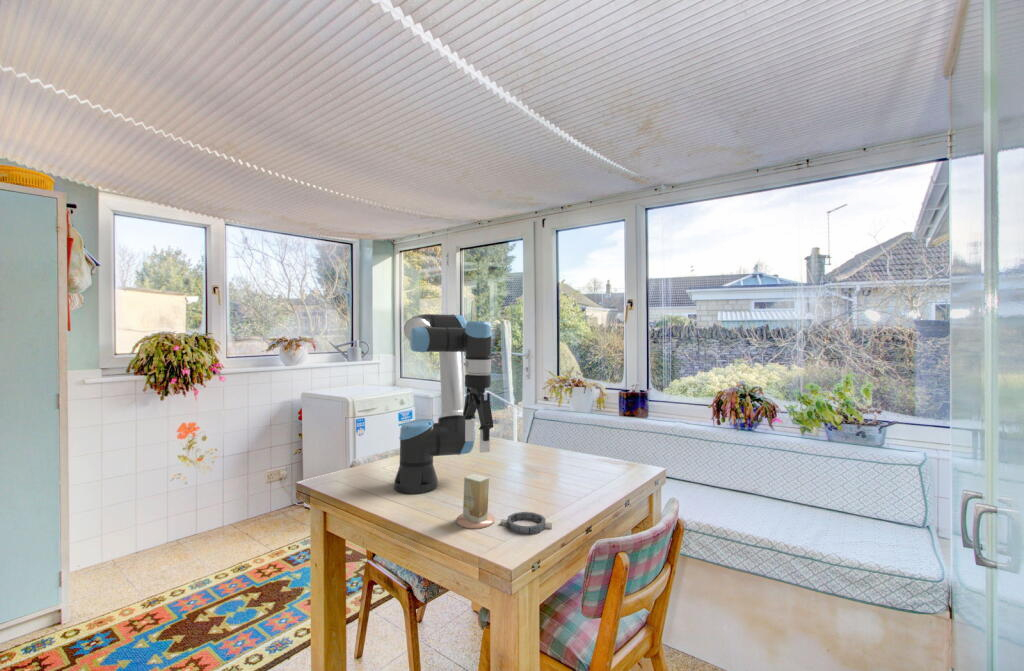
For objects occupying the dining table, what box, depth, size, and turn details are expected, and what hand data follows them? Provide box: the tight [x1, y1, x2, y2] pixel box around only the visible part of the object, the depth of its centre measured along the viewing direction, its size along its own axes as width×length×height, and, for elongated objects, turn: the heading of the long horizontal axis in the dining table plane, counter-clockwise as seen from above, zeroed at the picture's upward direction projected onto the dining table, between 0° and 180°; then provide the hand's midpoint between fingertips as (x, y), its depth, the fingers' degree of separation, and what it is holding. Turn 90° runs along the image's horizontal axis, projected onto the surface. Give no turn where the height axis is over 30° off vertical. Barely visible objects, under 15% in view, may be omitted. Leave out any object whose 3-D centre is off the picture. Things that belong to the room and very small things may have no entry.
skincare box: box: [462, 473, 490, 523], centre depth 132 cm, size 6×4×12 cm
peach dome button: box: [456, 512, 495, 530], centre depth 132 cm, size 11×11×1 cm
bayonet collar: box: [500, 511, 553, 535], centre depth 129 cm, size 15×11×2 cm
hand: (476, 446), depth 132 cm, fingers open, 13 cm apart
